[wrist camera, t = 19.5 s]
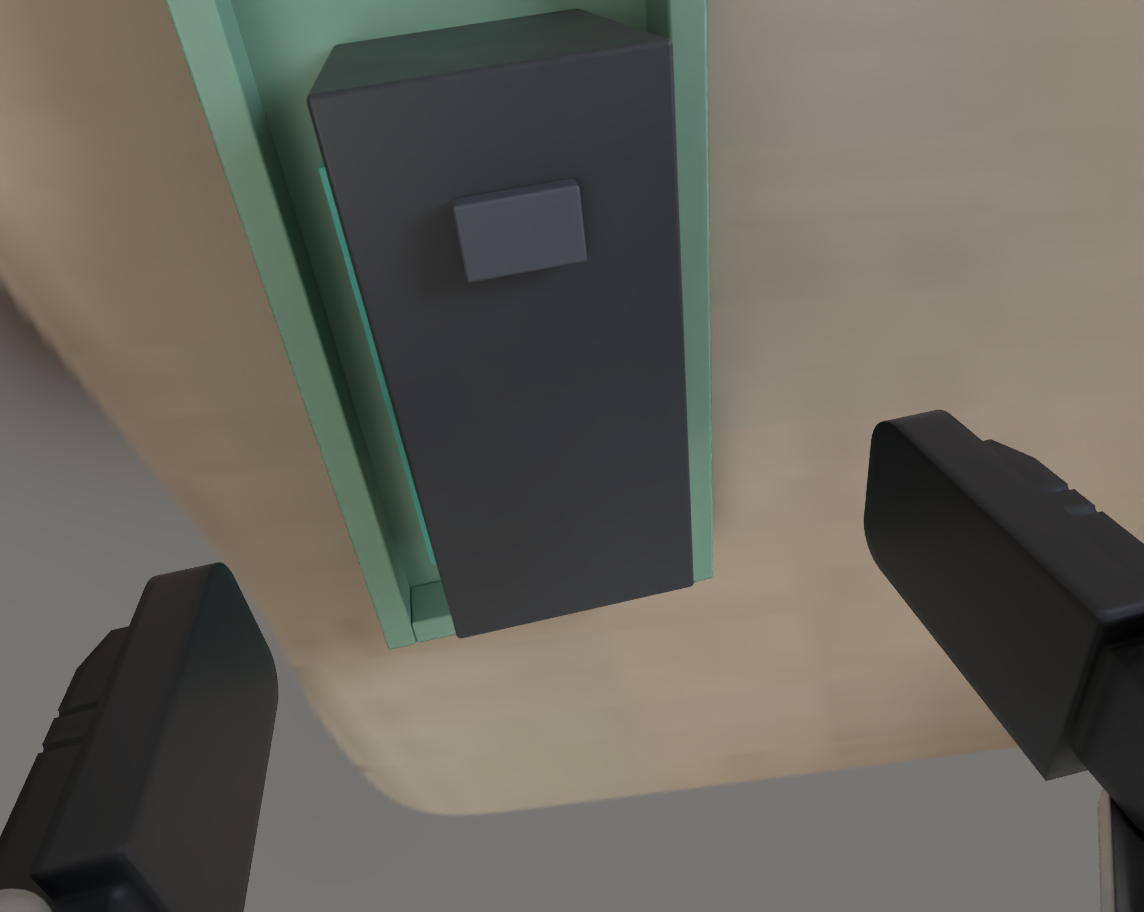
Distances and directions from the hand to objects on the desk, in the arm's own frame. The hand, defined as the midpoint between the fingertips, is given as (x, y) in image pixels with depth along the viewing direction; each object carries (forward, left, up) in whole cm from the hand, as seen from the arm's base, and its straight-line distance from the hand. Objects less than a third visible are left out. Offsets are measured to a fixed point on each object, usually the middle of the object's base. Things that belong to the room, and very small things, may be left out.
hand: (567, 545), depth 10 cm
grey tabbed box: (0, -1, -8) cm, 8 cm away
